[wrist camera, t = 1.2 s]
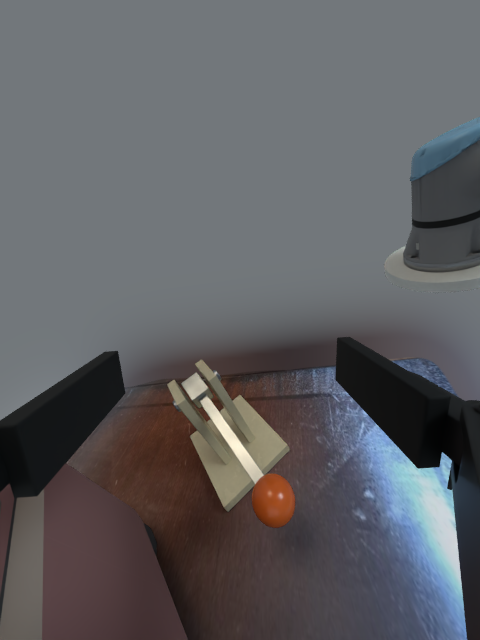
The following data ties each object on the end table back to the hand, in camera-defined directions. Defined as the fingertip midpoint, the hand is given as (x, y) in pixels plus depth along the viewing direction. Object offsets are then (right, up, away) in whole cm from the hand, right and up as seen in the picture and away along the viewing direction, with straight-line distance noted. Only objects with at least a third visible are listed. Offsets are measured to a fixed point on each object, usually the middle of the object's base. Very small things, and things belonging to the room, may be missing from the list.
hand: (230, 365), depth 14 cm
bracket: (0, -15, +19) cm, 24 cm away
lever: (0, -10, +11) cm, 15 cm away
